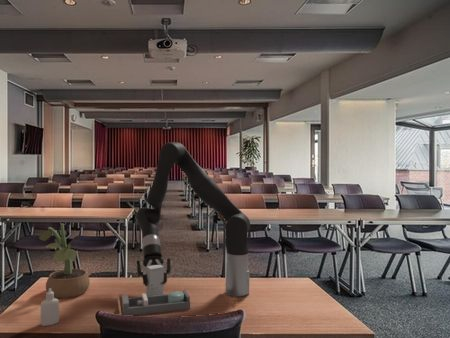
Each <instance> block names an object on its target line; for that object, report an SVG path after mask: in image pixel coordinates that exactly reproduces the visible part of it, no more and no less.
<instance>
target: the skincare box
mask: <svg viewBox="0 0 450 338" xmlns="http://www.w3.org/2000/svg"><path fill="white" fill-rule="evenodd" d="M145 268H146V272H147V273H146V275H147V286H145V293H146V295H147V296H154V295H164V285H165V284H164V269H165V267H164V265H162V266H161V265H152V266H147V267H145Z"/></svg>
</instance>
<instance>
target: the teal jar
mask: <svg viewBox="0 0 450 338" xmlns="http://www.w3.org/2000/svg"><path fill="white" fill-rule="evenodd" d="M167 294H168V303H176V302H184V293H183V291H171V292H169V293H167Z"/></svg>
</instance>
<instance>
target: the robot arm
mask: <svg viewBox="0 0 450 338" xmlns="http://www.w3.org/2000/svg"><path fill="white" fill-rule="evenodd" d="M174 165H176V166H177V167H178V168H179V169H180V170H181V171H182V172H183V173H184V174H185V177H186V178H187V180H188V184H189V186H190V187H191V189H192V191H194V193H195V194H196V195H197V196H198V197H199V199H200V200H201V201H202V202H203V203H205V204H206V205H207V206H208V207H210V208H212V209H213V210H215V212H217V213H218V214H219V215H221V217H222V218H223V219H224V221H225V226H224V227H225V228H224V229H225V230H224V231H225V233H224V238H225V248H226V252H225V253H226V255H225V256H226V258H225V259H226V260H225V294H226V295H227V296H229V297H234V298H235V297H238V298H239V297H245V296H248V295H250V278H251V276H250V270H249V246H248V232H249V230H250V228H251V222H250V219H249V217H248V216H247V215H246V214H245V213H244V212H243V211H241V209H239V208H238V207H237V206H236V205H235V204H234V203H233V202H232V201H231V200H230V199H229V197H228V196H227V195H226V194H225V193H224V191H223V190H222V189H221V188H220V187H219V186H218V184H217V183H216V182H215V181H214V180H213V178H212V177H211V176H210V175H208V174H207V172H206V171H205V170H204V169H203V168H202V167H201V166H200V165H199V164H198V163H197V161H196V160H195V159H194V158H193V157H192V155H191V154H190V152H189V151H188V150H187V148H186V146H184V144H182V143H181V142H176V141H172V142H171V141H170V142H166V143H165V144H163V145H162V146H161V148H160V151H159V155H158V161H157V166H156V169H155V174H154V176H153V177H154V178H153V180H152V181H153V182H152V184H151V186H150V189H149V192H148V195H147V197H146V202H147V204H148V205H150V206H151V207H153V208H150V207H140V208H139V209H137V212H136V221H137V223H138V225H139V226H138V227H139V228H140V231H141V235H142V253H143V255H142V256H143V260H142V261H140V260H137V261H136V263H135V264H136V271H137V276H138V277H139V278H140V277H142V284H143V286H145V287H146V286H147V275H146V273H147V272H146V267H147V266H152V265H161V266H163V263H164V265H165V266H166V269H165V268H164V285H166V284H167V282H168V277H167V275H170V274H171V269H172V268H171V258H169V257H168V258H167V259H163V255H162V246H161V239H160V234H159V228H158V226H157V225H158V224H159V223H160V220H161V217H162V216H161V213H162V206H163V201H164V200H165V197H166V194H167V189H168V183H169V176H170V173H171V170H172V168H173V166H174ZM142 266H144V267H145V269H144V270H143V271H142V268H141V267H142Z"/></svg>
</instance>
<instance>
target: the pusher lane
mask: <svg viewBox="0 0 450 338" xmlns="http://www.w3.org/2000/svg"><path fill="white" fill-rule="evenodd" d="M182 293H184V302H176V303H168V294H169V293H165V294H164V293H163V295H154V296H147V298H148V305H147V306H142V305H137V301H139V300H142V296H136V297H135V296H133V297H129V296H128V294H125V295H123V294H122V296H121V308H122V315H123V314H124V315H130V316H137V315H138V316H139V315H146V314H148V315H149V314H157V313H163V312H164V313H165V312H173V311H183V310H190V309H191V300H190V299H191V297H190V295H189V294H188V292H187V290H186V289H182Z"/></svg>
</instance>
